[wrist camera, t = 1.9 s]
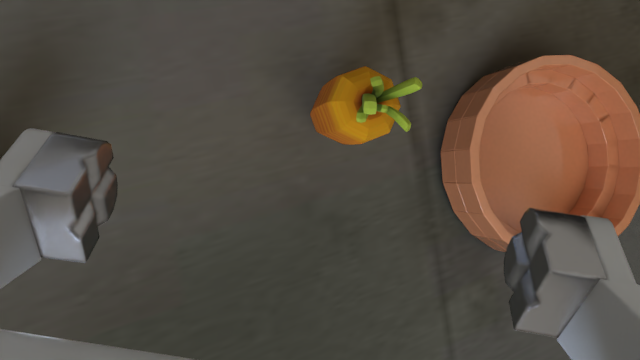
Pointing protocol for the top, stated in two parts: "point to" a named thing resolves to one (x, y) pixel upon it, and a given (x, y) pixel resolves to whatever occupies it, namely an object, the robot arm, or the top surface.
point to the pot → (542, 147)
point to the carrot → (360, 106)
